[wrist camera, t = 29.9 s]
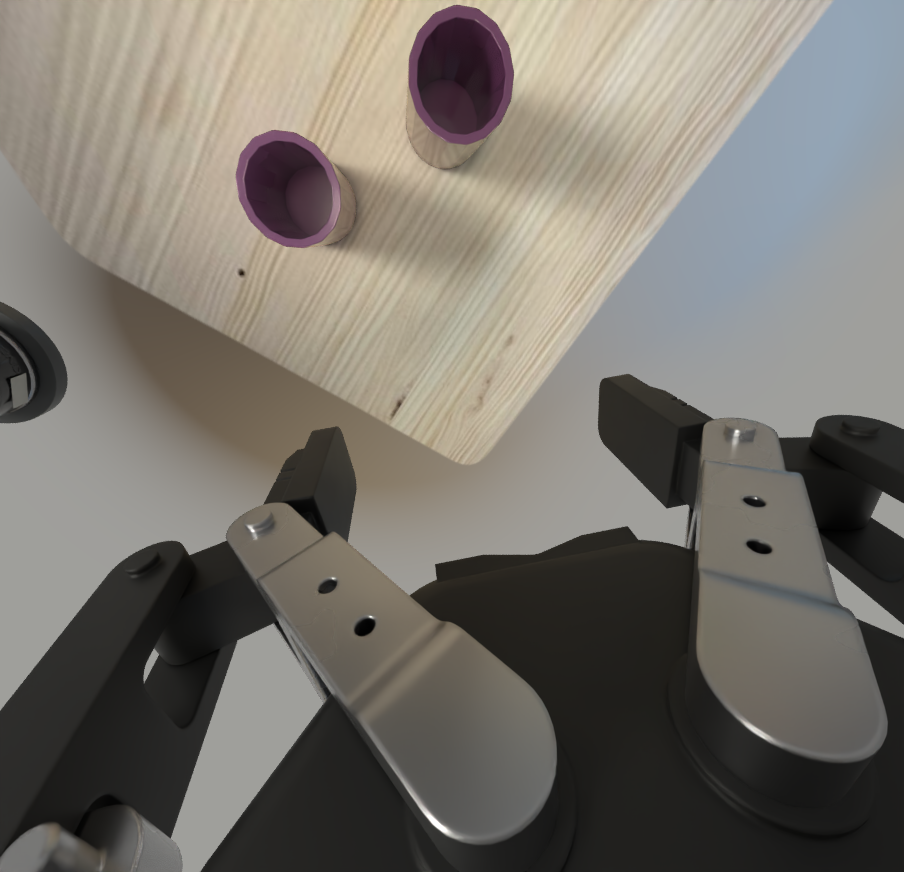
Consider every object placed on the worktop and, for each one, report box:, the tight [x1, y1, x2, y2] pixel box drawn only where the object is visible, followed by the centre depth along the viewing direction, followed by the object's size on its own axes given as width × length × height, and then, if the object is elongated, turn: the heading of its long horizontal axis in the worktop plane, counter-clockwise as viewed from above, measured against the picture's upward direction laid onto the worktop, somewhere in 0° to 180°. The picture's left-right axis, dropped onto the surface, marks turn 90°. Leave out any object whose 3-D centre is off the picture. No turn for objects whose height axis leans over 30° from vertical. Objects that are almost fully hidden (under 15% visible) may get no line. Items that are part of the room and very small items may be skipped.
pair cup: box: [236, 130, 356, 248], centre depth 28 cm, size 6×6×10 cm
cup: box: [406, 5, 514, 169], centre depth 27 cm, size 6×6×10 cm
